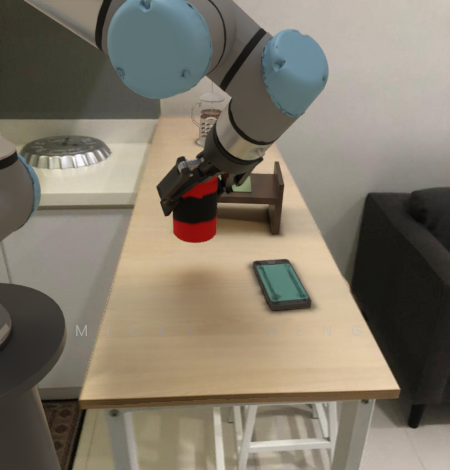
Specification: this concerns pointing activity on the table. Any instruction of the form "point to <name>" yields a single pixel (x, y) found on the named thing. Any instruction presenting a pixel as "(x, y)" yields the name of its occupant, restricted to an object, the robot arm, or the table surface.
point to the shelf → (260, 194)
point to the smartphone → (281, 284)
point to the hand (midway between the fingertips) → (185, 204)
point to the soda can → (197, 213)
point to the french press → (207, 113)
